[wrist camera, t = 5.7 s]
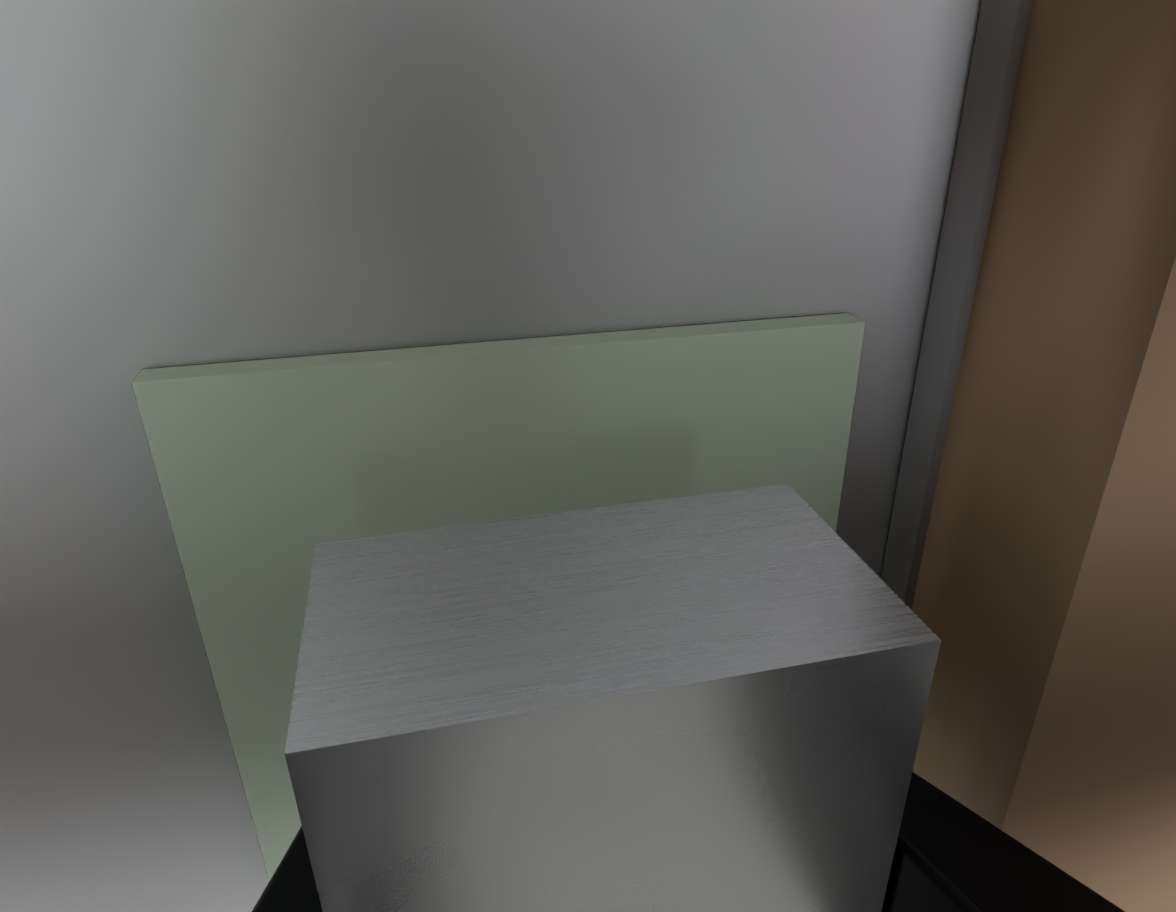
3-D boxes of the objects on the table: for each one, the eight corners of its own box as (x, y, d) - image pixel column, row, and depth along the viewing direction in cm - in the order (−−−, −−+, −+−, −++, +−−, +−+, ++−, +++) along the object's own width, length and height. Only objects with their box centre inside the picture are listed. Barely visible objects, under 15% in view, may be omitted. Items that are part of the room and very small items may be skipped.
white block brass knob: (744, 886, 11) (864, 1158, 8) (395, 966, 10) (400, 1301, 7) (788, 484, 8) (987, 688, 5) (315, 543, 7) (274, 820, 4)
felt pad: (786, 784, 13) (797, 803, 13) (281, 886, 12) (277, 911, 11) (848, 312, 10) (865, 322, 9) (142, 368, 8) (131, 382, 8)
